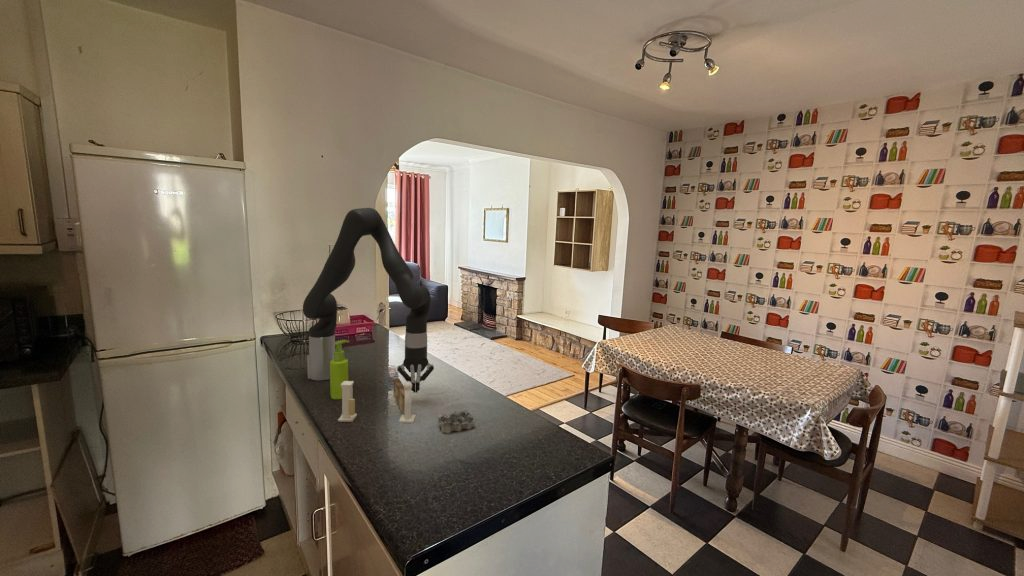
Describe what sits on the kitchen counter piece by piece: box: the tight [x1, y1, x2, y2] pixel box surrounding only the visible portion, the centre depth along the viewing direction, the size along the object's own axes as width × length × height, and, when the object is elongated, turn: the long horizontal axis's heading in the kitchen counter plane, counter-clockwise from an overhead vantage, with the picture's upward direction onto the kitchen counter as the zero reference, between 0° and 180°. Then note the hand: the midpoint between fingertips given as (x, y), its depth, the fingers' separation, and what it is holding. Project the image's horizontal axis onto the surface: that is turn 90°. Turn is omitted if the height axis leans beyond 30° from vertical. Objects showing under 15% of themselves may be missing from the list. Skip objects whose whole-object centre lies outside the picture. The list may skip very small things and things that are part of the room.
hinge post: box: [398, 381, 417, 424], centre depth 128 cm, size 4×4×13 cm
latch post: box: [337, 380, 358, 423], centre depth 127 cm, size 5×4×12 cm
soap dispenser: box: [329, 339, 350, 400], centre depth 143 cm, size 6×7×20 cm
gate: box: [392, 378, 405, 414], centre depth 136 cm, size 16×2×6 cm, turn 28°
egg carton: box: [436, 409, 476, 434], centre depth 126 cm, size 11×8×4 cm
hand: (415, 391), depth 141 cm, fingers closed
